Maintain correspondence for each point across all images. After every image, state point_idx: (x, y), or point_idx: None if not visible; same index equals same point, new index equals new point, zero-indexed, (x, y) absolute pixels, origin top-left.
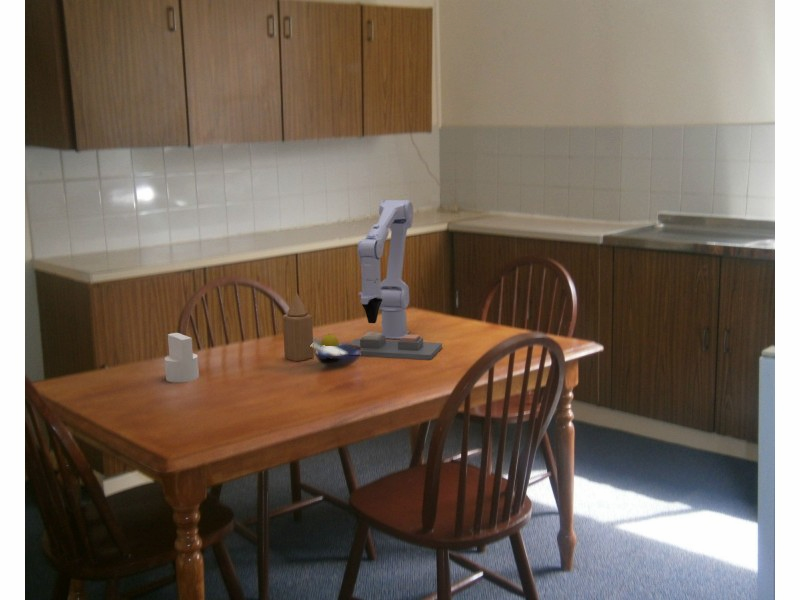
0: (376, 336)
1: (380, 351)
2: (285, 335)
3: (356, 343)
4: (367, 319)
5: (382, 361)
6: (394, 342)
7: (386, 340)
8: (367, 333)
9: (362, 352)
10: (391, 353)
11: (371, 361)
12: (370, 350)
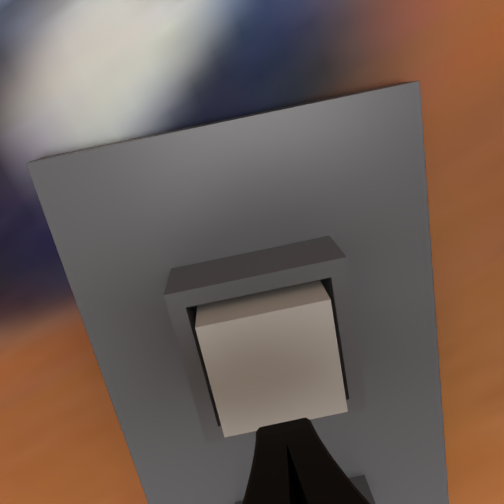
0: (223, 430)
1: (143, 439)
2: None
3: (269, 176)
4: (256, 452)
5: (59, 473)
6: (392, 407)
7: (427, 337)
8: (287, 316)
9: (90, 331)
10: (149, 501)
11: (22, 424)
12: (133, 373)
